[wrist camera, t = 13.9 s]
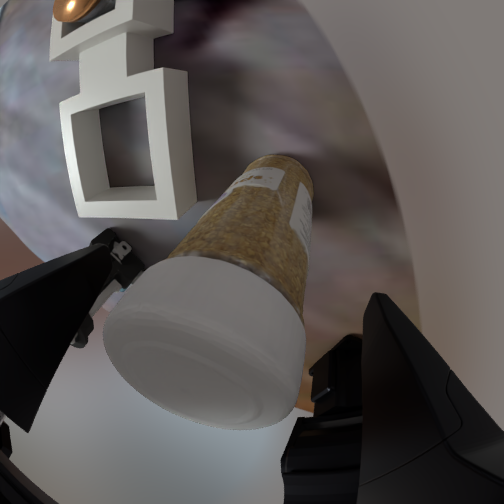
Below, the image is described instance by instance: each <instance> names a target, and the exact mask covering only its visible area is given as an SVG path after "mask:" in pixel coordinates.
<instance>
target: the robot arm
mask: <svg viewBox="0 0 504 504" xmlns="http://www.w3.org/2000/svg"><path fill="white" fill-rule="evenodd" d="M112 269H113V263H112V259H111V254H110V250H109V247H108V246H107V245H105V244H100V243H98V244H95V245H92V246H89V247H86V248H83V249H80V250H77V251H75V252H72V253H69V254H66V255H64V256H61V257H58V258H56V259H53V260H50V261H48V262H45V263H42V264H40V265H37V266H35V267H32V268H30V269H27V270H25V271H22V272H20V273H17V274H15V275H13V276H10V277H7V278H5V279H3V280H0V504H58V503H57V502H56V501H55V500H53V499H52V498H51V497H50V496H48V495H47V494H46V493H45V492H43V491H42V490H41V489H40V488H39V487H38V486H36V485H35V484H34V483H33V482H32V481H31V480H30V479H29V478H27V477H26V476H25V475H24V474H23V473H22V472H21V471H20V470H19V469H18V468H17V467H16V466H15V465H14V464H13V463H12V462H11V461H10V460H9V457H10V456H11V454H12V446H11V439H10V431H9V426H8V425H7V424H6V423H5V422H4V419H5V417H6V416H7V417H8V418H9V419H11V420H12V421H13V422H14V423H15V424H17V425H18V426H19V427H20V428H22V429H23V430H25V432H27V433H29V431H30V429H31V426H32V424H33V421H34V419H35V416H36V414H37V411H38V409H39V407H40V404H41V402H42V400H43V398H44V395H45V393H46V391H47V389H48V387H49V384H50V382H51V380H52V378H53V376H54V374H55V372H56V370H57V368H58V366H59V364H60V362H61V361H62V359H63V356H64V355H65V353H66V351H67V349H68V347H69V346H70V344H71V342H72V340H73V339H74V337H75V335H76V333H77V332H78V330H79V328H80V326H81V325H82V323H83V321H84V320H85V318H86V316H87V315H88V313H89V311H90V310H91V308H92V307H93V305H94V303H95V301H96V300H97V298H98V296H99V294H100V292H101V290H102V288H103V286H104V284H105V282H106V280H107V279H108V277H109V275H110V273H111V271H112ZM309 375H311V376H313V381H312V392H311V401H312V402H314V403H315V405H314V415H313V417H307V418H305V417H298V418H297V421H296V423H295V426H294V428H293V430H292V433H291V436H290V438H289V441H288V443H287V446H286V448H285V451H284V454H283V455H282V458H281V473H282V477H283V482H284V504H504V431H503V430H502V429H501V428H500V427H499V426H498V425H497V424H496V423H495V421H494V420H493V419H492V418H491V417H490V416H489V414H488V413H487V412H486V411H485V409H484V408H483V407H482V406H481V405H480V404H479V403H478V401H477V400H476V399H475V398H474V397H473V396H472V394H471V393H470V392H469V391H468V390H467V388H466V387H465V386H464V385H463V383H462V382H461V381H460V380H459V378H458V377H457V376H456V375H455V373H454V372H453V371H452V370H450V367H449V366H448V365H447V363H446V362H445V361H444V360H443V358H442V357H441V356H440V355H439V354H438V352H437V351H436V350H435V349H434V348H433V347H432V345H431V344H430V343H429V342H428V340H427V339H426V338H425V337H424V336H423V334H422V333H421V332H420V331H419V330H418V329H417V328H416V326H415V325H414V324H413V323H412V322H411V321H410V320H409V318H408V317H407V316H406V315H405V314H404V313H403V312H402V311H401V310H400V308H399V307H398V306H397V305H396V304H395V303H394V302H393V301H392V300H391V299H390V298H389V297H388V295H386V294H384V293H377V292H375V293H373V294H372V296H371V298H370V300H369V303H368V305H367V308H366V310H365V313H364V317H363V340H361V339H359V338H356V337H354V336H351V335H347V336H345V337H344V338H343V339H342V340H341V341H340V342H339V343H337V344H336V345H335V346H334V347H333V348H332V349H331V350H330V351H328V352H327V353H326V354H325V355H324V356H323V357H322V358H321V359H319V360H318V361H317V362H316V363H315V364H314V365H313V366H312V367H311V368H310V369H309Z"/></svg>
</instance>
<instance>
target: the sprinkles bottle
mask: <svg viewBox="0 0 504 504" xmlns="http://www.w3.org/2000/svg"><path fill="white" fill-rule="evenodd" d="M313 195H314V191H313V183H312V180H311V178H310V176H309V174H308V171H307V170H306V169H305V168H304V167H303V166H302V165H301V164H300V163H299V162H298V161H297V160H295V159H293V158H290V157H288V156H284V155H266V156H264V157H261V158H258V159H257V160H255V161H254V162H252V163H251V164H249V165H248V167H247V169H246V170H245V171H244V173H243V174H242V175H241V176H240V177H239V178H237V179H236V180H235V181H234V182H233V183H232V184H231V186H230V187H229V188H228V189H227V190H226V191H225V192H224V193H223V194H222V195H221V197H220V198H219V199H218V200H217V201H216V202H215V203H214V204H213V205H212V206H211V207H210V208H209V209H208V210H207V211H206V212H205V213H204V215H203V216H202V217H201V218H200V219H199V220H198V222H197V224H196V226H195V227H193V228H192V230H191V231H190V232H189V233H188V234H187V236H186V237H185V238H184V239H183V240H182V241H181V242H180V243H179V244H178V246H177V247H176V248H175V250H173V251H172V252H171V253H170V254H169V256H168V258H167V259H164V260H162V261H160V262H158V263H156V264H155V265H152V266H150V267H149V268H148V269H147V270H146V271H144V272H143V274H142V275H141V276H140V277H139V278H138V279H137V280H136V281H135V283H134V284H133V285H132V286H131V287H130V288H129V289H128V290H127V292H126V293H125V294H124V296H123V297H122V298H121V299H120V301H119V302H118V303H117V305H116V306H115V307H114V309H113V310H112V311H111V313H110V314H109V315H108V317H107V319H106V321H105V324H104V328H103V340H104V345H105V349H106V352H107V354H108V356H109V358H110V360H111V362H112V364H113V365H114V366H115V368H116V369H117V371H118V372H119V373H120V374H121V376H122V377H123V378H124V379H125V380H126V381H127V382H128V383H129V384H130V385H131V386H132V387H133V388H134V389H136V390H137V391H138V392H139V393H141V394H142V395H143V396H145V397H146V398H148V399H149V400H151V401H152V402H153V403H155V404H157V405H158V406H160V407H162V408H163V409H165V410H167V411H169V412H171V413H173V414H175V415H178V416H180V417H182V418H185V419H188V420H190V421H193V422H196V423H199V424H203V425H207V426H211V427H216V428H222V429H230V430H231V429H232V430H252V429H259V428H263V427H267V426H271V425H273V424H276V423H278V422H280V421H281V420H282V419H284V418H285V417H286V416H288V414H290V412H291V411H292V410H293V408H294V406H295V404H296V402H297V398H298V394H299V389H300V384H301V379H302V373H303V366H304V359H305V349H306V335H305V330H304V320H303V316H302V314H303V301H304V292H305V286H306V279H307V275H308V271H309V260H310V246H311V229H312V200H313Z"/></svg>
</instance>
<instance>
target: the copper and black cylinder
mask: <svg viewBox="0 0 504 504" xmlns="http://www.w3.org/2000/svg"><path fill="white" fill-rule="evenodd" d="M115 3H116V0H55V2H54V6H53V15H54V18H55V19H56V20H57V21H59V22H69V23H73V22H82V23H89V22H90V21H92V20H94V19H96V18H98V17H100V16H102V15H104V14H106V13H108V12H110V11H112V10H115Z"/></svg>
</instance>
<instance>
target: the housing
mask: <svg viewBox="0 0 504 504" xmlns="http://www.w3.org/2000/svg"><path fill="white" fill-rule="evenodd" d="M173 33H174V0H116V3H115V10H112V11H110V12H108V13H106V14H104V15H102V16H100V17H98V18H96V19H94V20H92V21H90V22H89V23H82V22H73V23H69V22H59V21H57V20H56V19H55V18H54V15H53V19H52V28H51V40H50V61H71V60H79V69H80V94H78V95H76V96H73V97H71V98H69V99H67V100H64V101H62V102H60V103H59V106H60V118H61V127H62V135H63V143H64V149H65V156H66V162H67V167H68V172H69V177H70V182H71V187H72V191H73V196H74V200H75V204H76V208H77V212H78V216H79V217H103V218H141V219H168V220H178V219H179V218H180V217H181V216H182V215H184V214H185V213H186V212H187V211H188V210H189V209H190V208H191V207H192V206H193V205H194V204H195V203H197V194H196V184H195V174H194V164H193V152H192V140H191V127H190V112H189V94H188V72H187V71H182V70H177V69H171V68H164V67H162V68H158V69H154V45H153V39H154V38H158V37H161V36H165V35H169V34H173ZM143 97H145V100H146V114H147V125H148V136H149V145H150V153H151V162H152V169H153V176H154V183H155V186H130V187H112V188H110V185H109V180H108V174H107V169H106V163H105V156H104V149H103V142H102V134H101V125H100V115H99V109H101V108H104V107H108V106H111V105H115V104H118V103H122V102H126V101H130V100H134V99H138V98H143Z"/></svg>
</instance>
